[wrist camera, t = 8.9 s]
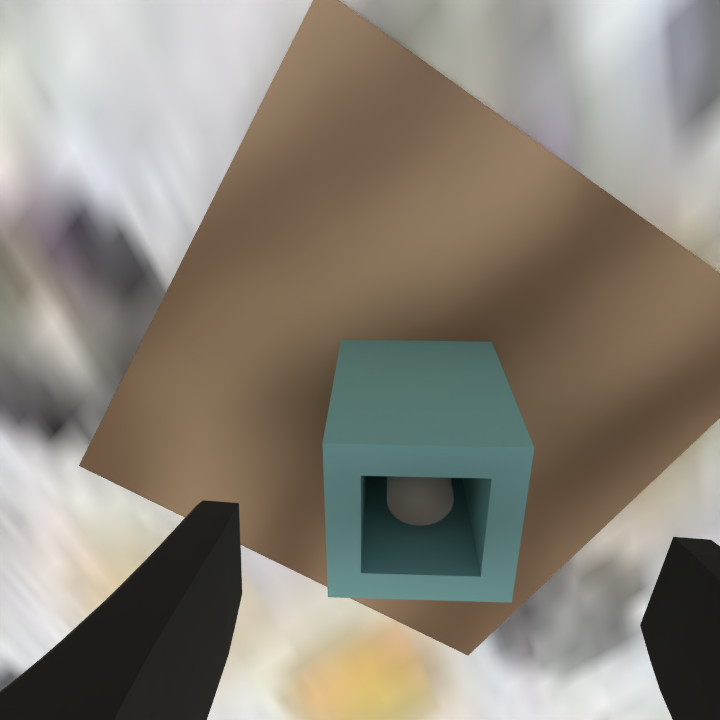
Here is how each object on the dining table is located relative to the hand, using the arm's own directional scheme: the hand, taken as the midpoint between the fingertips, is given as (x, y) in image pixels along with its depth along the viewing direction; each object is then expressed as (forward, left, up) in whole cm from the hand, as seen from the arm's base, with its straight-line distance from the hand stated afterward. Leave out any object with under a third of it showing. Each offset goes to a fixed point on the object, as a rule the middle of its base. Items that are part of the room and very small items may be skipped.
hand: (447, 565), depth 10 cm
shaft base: (-1, +2, -9) cm, 9 cm away
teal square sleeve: (-1, +2, -8) cm, 8 cm away
